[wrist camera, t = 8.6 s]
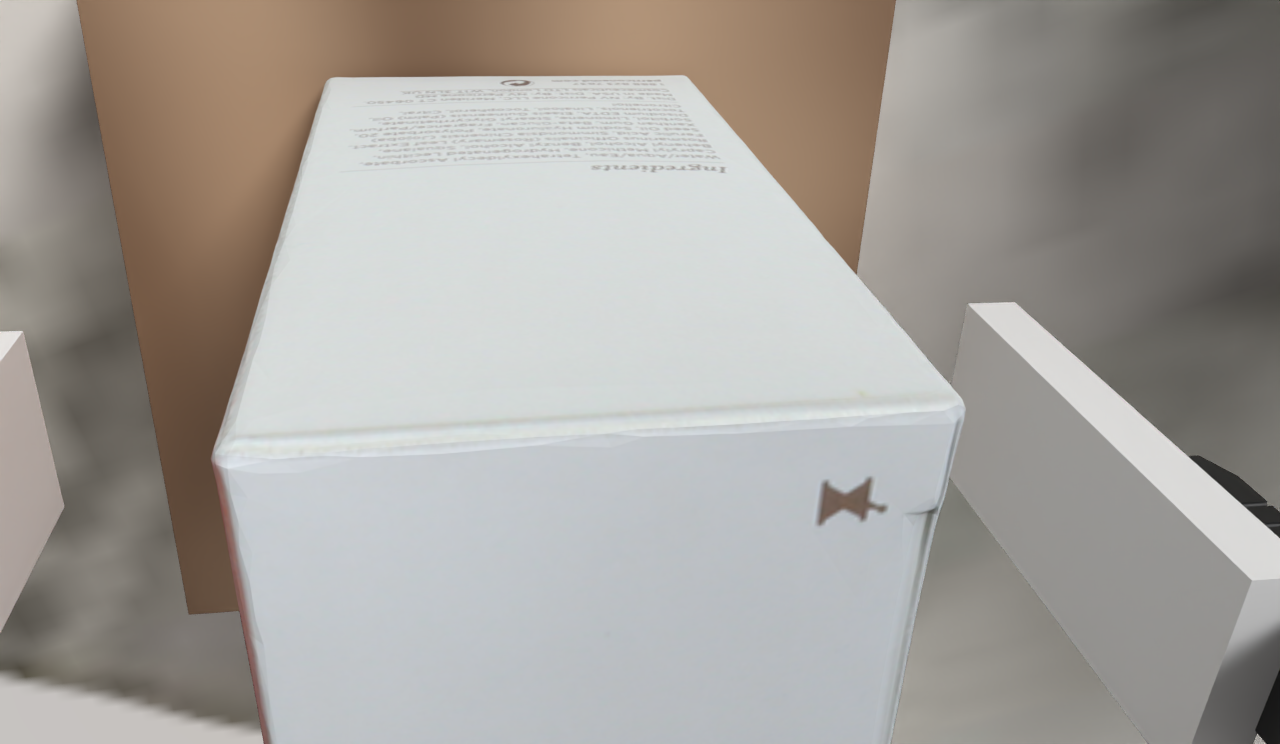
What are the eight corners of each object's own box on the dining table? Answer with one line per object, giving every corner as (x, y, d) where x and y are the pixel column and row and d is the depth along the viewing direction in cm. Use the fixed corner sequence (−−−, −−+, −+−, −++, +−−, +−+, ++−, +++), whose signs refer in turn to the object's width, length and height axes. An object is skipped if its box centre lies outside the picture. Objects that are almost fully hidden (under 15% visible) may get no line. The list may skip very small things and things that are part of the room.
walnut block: (808, -95, 21) (905, -63, 17) (751, 442, 27) (813, 570, 22) (144, -116, 19) (60, -87, 15) (231, 468, 25) (189, 614, 21)
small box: (323, 67, 16) (186, 428, 7) (693, 67, 17) (988, 386, 8) (366, 516, 20) (312, 1129, 11) (670, 496, 21) (855, 1047, 12)
